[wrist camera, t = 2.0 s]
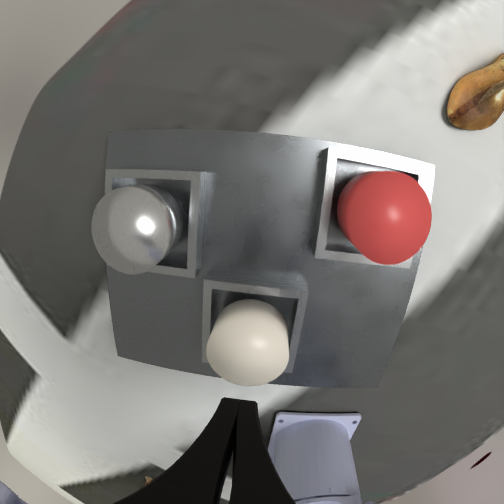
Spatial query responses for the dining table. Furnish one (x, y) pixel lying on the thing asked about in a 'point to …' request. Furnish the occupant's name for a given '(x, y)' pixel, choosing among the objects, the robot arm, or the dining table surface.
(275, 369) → the ivory button
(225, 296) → the slate panel
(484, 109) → the shoe last
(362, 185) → the red button
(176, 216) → the steel button
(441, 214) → the dining table surface
